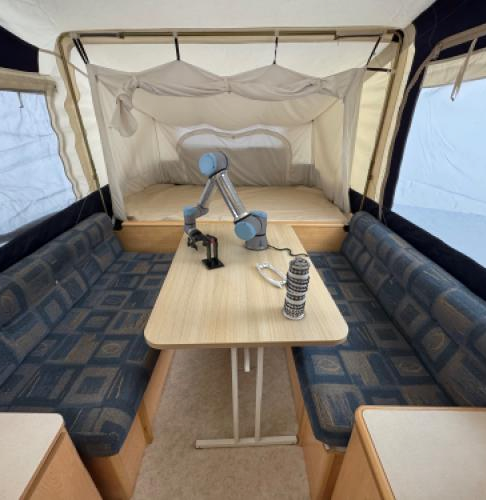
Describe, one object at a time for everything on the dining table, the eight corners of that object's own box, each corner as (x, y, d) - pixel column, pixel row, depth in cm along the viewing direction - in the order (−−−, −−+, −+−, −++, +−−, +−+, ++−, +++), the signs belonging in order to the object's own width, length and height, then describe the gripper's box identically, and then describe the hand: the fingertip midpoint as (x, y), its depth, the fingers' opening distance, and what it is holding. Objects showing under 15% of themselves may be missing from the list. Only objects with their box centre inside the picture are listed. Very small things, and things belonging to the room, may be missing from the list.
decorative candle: (278, 314, 111) (283, 261, 100) (287, 303, 118) (293, 253, 107) (299, 323, 106) (307, 268, 95) (307, 311, 113) (315, 258, 102)
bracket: (201, 261, 154) (200, 236, 147) (216, 258, 157) (215, 233, 151) (208, 269, 145) (207, 243, 138) (223, 266, 148) (223, 240, 142)
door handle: (267, 263, 152) (293, 285, 131) (252, 267, 148) (276, 290, 127) (267, 259, 150) (293, 280, 130) (252, 263, 147) (276, 285, 126)
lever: (202, 247, 157) (200, 241, 157) (207, 246, 158) (206, 240, 158) (210, 244, 143) (208, 238, 143) (216, 243, 145) (215, 237, 145)
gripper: (212, 236, 178) (226, 248, 160) (177, 243, 168) (187, 256, 150) (212, 226, 174) (226, 237, 157) (176, 231, 164) (186, 244, 147)
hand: (207, 246), depth 154 cm, fingers open, 12 cm apart
